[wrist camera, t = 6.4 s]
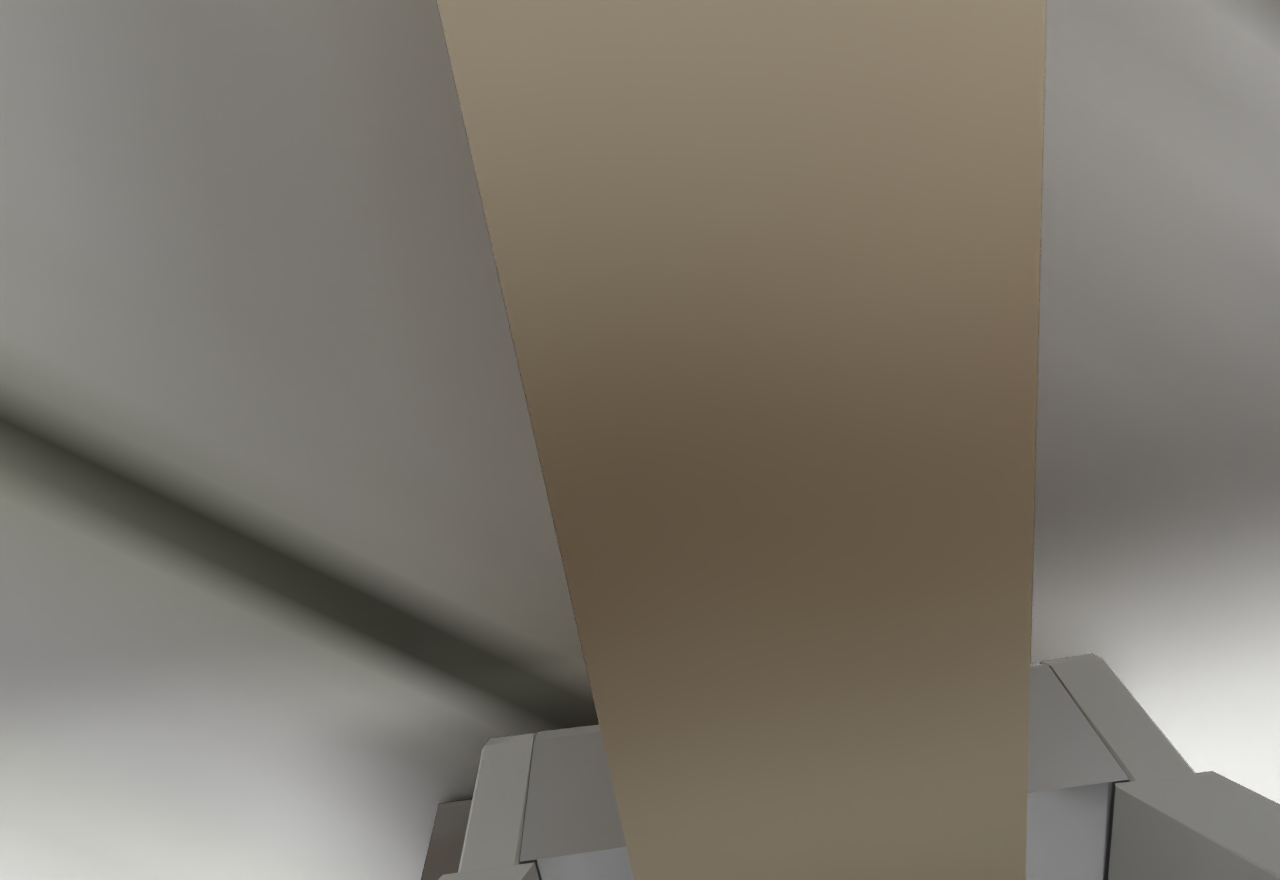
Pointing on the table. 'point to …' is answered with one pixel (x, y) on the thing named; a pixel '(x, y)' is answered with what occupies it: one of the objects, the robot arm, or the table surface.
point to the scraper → (780, 410)
